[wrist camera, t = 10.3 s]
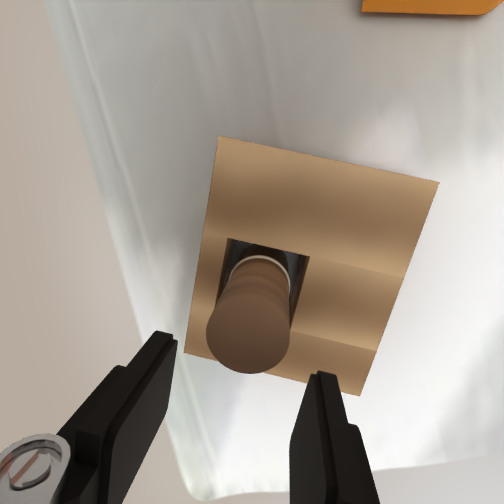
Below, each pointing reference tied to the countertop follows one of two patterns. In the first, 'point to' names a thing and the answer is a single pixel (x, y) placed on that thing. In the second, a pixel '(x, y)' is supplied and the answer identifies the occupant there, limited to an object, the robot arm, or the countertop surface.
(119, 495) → the robot arm
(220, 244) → the board
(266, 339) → the peg
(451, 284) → the countertop surface
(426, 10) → the bracket
